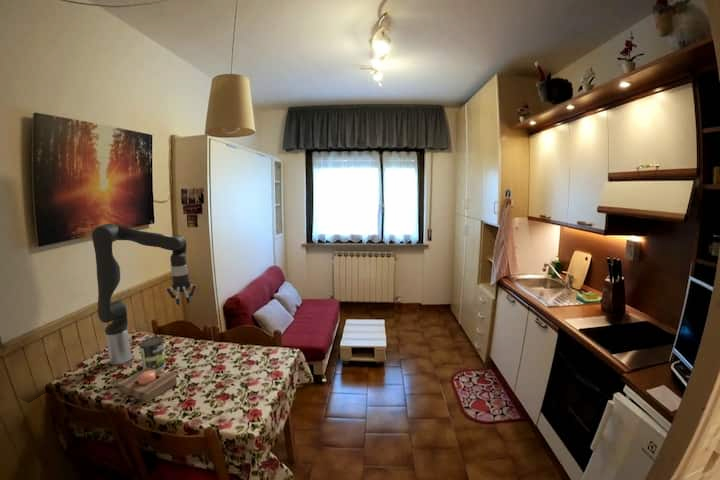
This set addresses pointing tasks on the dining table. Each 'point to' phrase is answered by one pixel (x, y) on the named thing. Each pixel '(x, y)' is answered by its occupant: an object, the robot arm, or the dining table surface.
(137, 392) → the wooden board
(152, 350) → the coffee can
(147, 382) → the pink flattened oval
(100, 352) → the dining table surface
